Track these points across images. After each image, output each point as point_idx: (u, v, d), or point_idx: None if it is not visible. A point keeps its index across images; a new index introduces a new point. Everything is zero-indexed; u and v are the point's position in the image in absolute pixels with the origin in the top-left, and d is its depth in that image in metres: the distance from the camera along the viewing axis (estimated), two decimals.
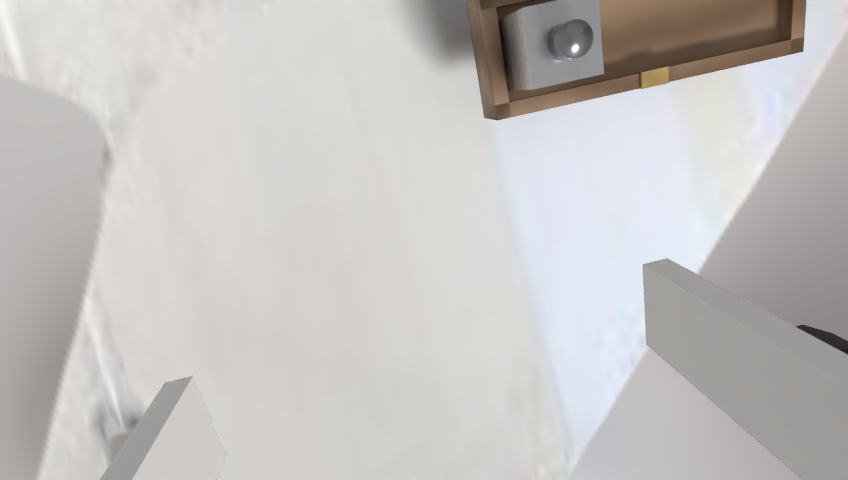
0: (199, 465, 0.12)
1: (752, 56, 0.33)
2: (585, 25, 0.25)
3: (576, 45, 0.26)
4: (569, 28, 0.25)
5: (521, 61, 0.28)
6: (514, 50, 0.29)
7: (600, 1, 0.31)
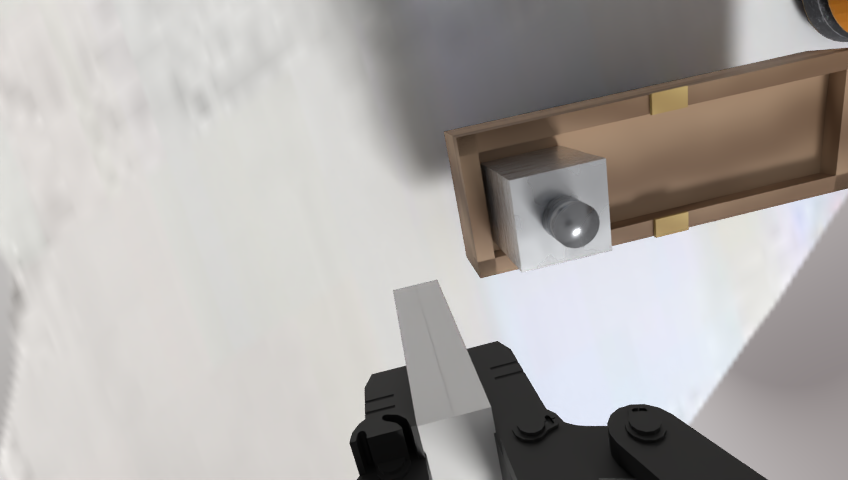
0: None
1: (789, 195, 0.27)
2: (589, 209, 0.20)
3: (577, 233, 0.20)
4: (569, 214, 0.20)
5: (508, 231, 0.23)
6: (499, 211, 0.23)
7: (606, 136, 0.26)
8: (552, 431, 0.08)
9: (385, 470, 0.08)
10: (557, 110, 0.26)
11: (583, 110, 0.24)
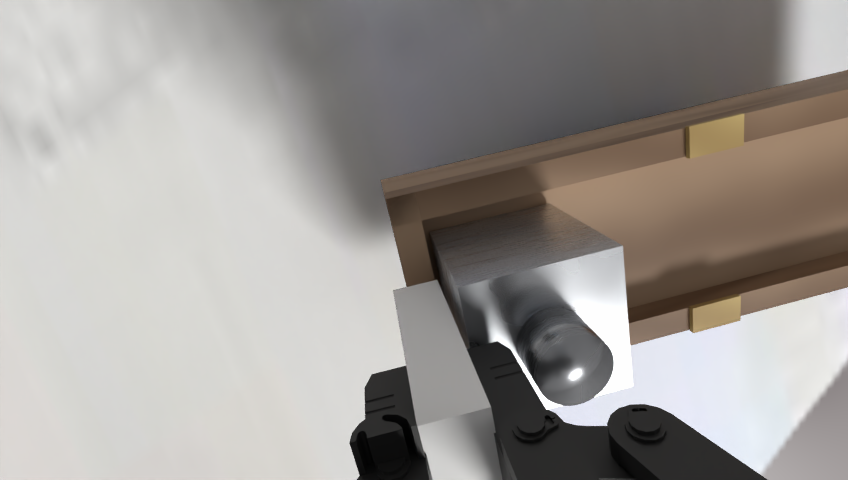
0: None
1: None
2: (596, 343, 0.11)
3: (576, 382, 0.11)
4: (560, 354, 0.11)
5: None
6: (454, 314, 0.15)
7: (619, 188, 0.17)
8: (552, 431, 0.08)
9: (385, 470, 0.08)
10: (545, 150, 0.17)
11: (583, 153, 0.16)
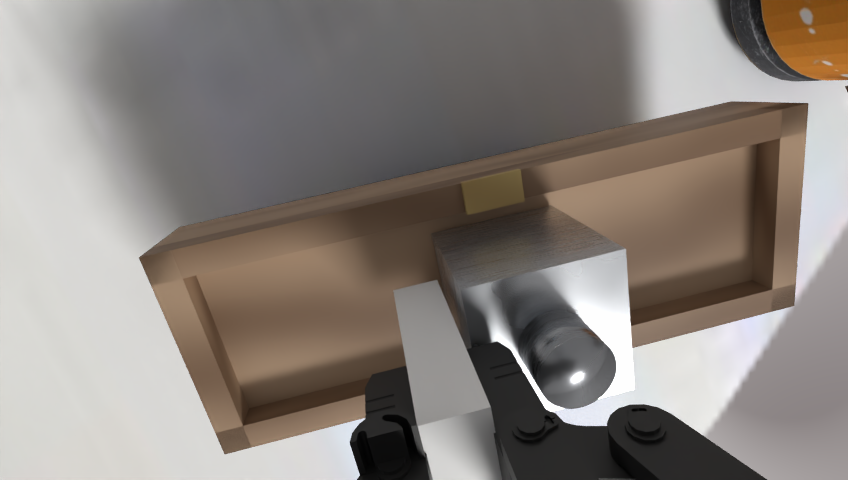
0: None
1: (702, 320, 0.18)
2: (599, 346, 0.11)
3: (578, 385, 0.11)
4: (562, 357, 0.11)
5: None
6: (455, 316, 0.15)
7: (411, 240, 0.17)
8: (552, 431, 0.08)
9: (385, 470, 0.08)
10: (333, 201, 0.17)
11: (352, 210, 0.15)
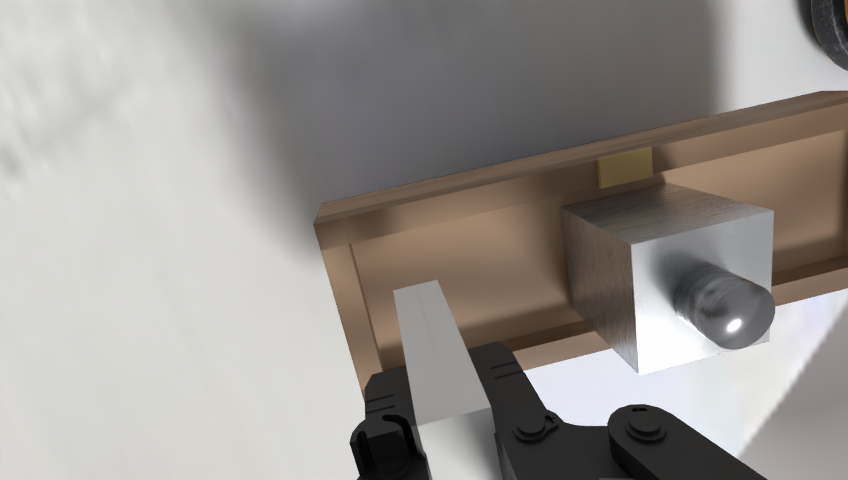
0: None
1: (800, 291, 0.20)
2: (763, 293, 0.13)
3: (741, 328, 0.13)
4: (731, 301, 0.13)
5: (613, 311, 0.16)
6: (596, 279, 0.16)
7: (541, 214, 0.18)
8: (552, 431, 0.08)
9: (385, 470, 0.08)
10: (471, 178, 0.18)
11: (500, 183, 0.17)
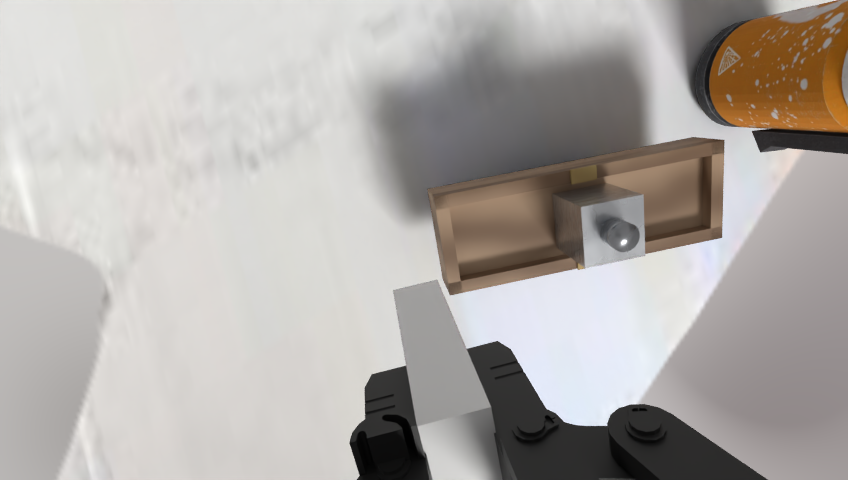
0: None
1: (676, 242, 0.38)
2: (633, 227, 0.30)
3: (625, 242, 0.31)
4: (620, 230, 0.30)
5: (575, 240, 0.33)
6: (567, 227, 0.34)
7: (542, 197, 0.36)
8: (552, 431, 0.08)
9: (385, 470, 0.08)
10: (507, 177, 0.36)
11: (523, 180, 0.34)
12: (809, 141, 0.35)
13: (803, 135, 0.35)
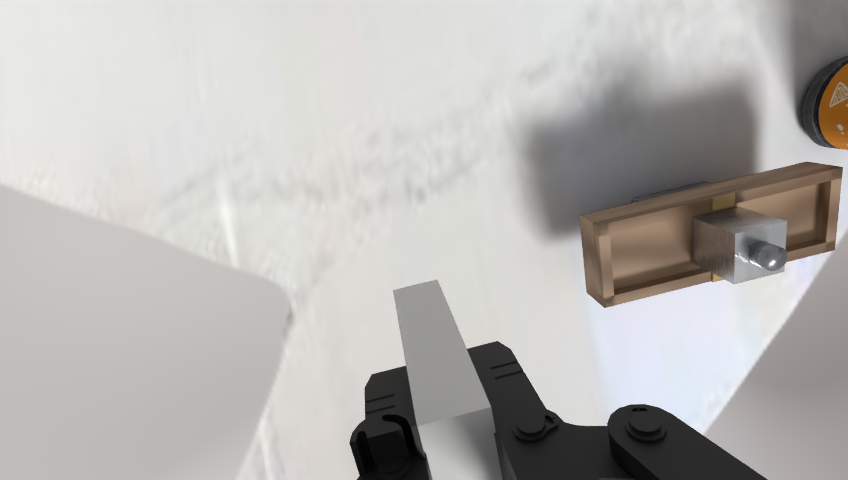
0: None
1: (796, 255, 0.43)
2: (783, 250, 0.36)
3: (775, 263, 0.36)
4: (772, 253, 0.36)
5: (722, 260, 0.39)
6: (712, 248, 0.40)
7: (683, 220, 0.42)
8: (552, 431, 0.08)
9: (385, 470, 0.08)
10: (653, 205, 0.42)
11: (672, 208, 0.40)
12: None
13: None
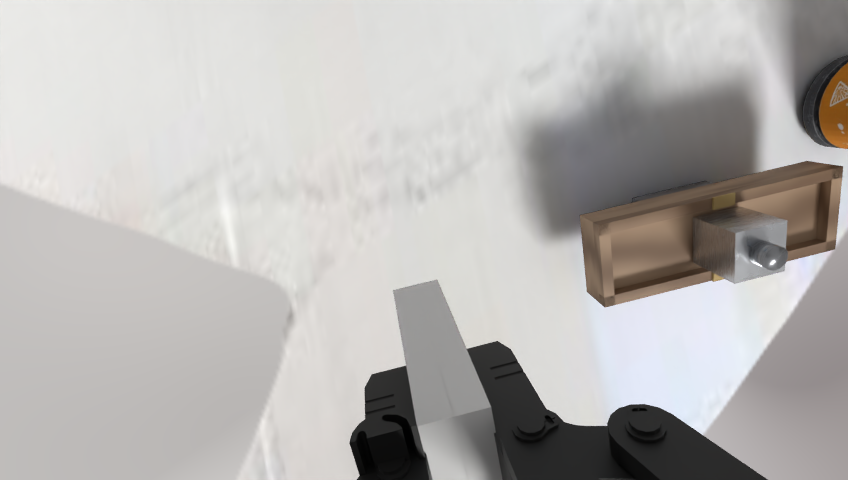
0: None
1: (796, 254, 0.43)
2: (783, 249, 0.36)
3: (775, 262, 0.36)
4: (772, 252, 0.36)
5: (722, 259, 0.39)
6: (713, 247, 0.40)
7: (684, 220, 0.42)
8: (552, 431, 0.08)
9: (385, 470, 0.08)
10: (653, 204, 0.42)
11: (673, 207, 0.40)
12: None
13: None
